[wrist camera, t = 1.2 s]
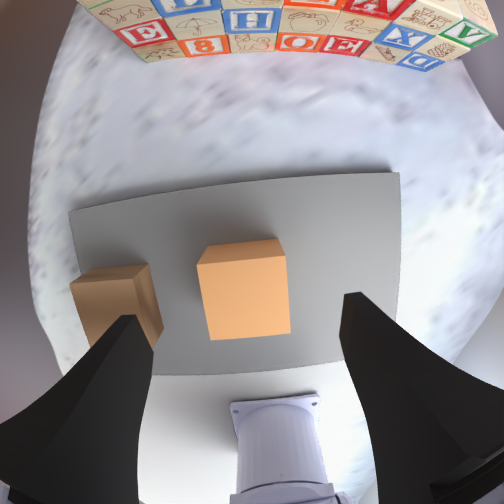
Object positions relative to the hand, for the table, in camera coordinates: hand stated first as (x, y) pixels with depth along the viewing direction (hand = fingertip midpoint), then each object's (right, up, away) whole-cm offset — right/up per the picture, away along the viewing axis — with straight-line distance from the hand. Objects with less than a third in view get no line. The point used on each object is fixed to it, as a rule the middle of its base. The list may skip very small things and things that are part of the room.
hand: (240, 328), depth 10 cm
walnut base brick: (-9, -1, +10) cm, 13 cm away
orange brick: (0, +1, +9) cm, 9 cm away
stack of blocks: (+3, +19, +6) cm, 20 cm away
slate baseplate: (-1, 0, +11) cm, 11 cm away
